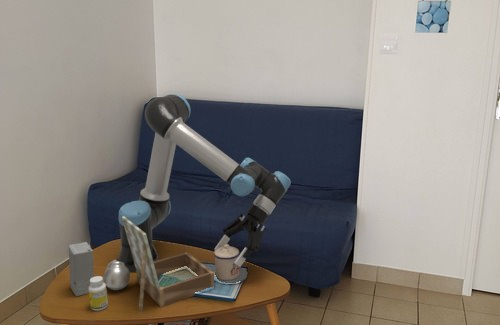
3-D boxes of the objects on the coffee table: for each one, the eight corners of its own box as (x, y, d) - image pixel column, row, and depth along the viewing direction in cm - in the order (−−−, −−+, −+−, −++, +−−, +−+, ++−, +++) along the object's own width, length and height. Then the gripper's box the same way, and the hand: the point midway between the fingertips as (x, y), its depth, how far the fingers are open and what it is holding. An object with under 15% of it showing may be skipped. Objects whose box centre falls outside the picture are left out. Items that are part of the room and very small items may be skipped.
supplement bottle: (92, 302, 151) (89, 275, 149) (109, 301, 152) (107, 274, 149) (88, 311, 146) (85, 283, 144) (106, 310, 147) (103, 282, 144)
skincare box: (70, 287, 161) (65, 245, 157) (90, 281, 165) (86, 240, 161) (76, 297, 154) (71, 254, 150) (97, 291, 158) (93, 248, 154)
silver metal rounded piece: (134, 281, 165) (132, 255, 162) (127, 294, 156) (125, 267, 153) (109, 281, 165) (106, 255, 162) (100, 295, 156) (98, 268, 153)
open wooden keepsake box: (119, 289, 161) (113, 217, 154) (187, 268, 175) (184, 202, 169) (141, 315, 145) (135, 237, 138) (214, 290, 159) (212, 218, 153)
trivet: (207, 274, 169) (207, 272, 169) (235, 265, 176) (235, 263, 175) (225, 288, 159) (225, 285, 159) (253, 278, 166) (253, 275, 166)
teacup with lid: (235, 282, 161) (234, 251, 158) (210, 279, 164) (209, 248, 161) (245, 267, 172) (245, 238, 169) (222, 264, 175) (221, 235, 172)
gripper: (287, 225, 161) (253, 276, 157) (247, 205, 181) (215, 250, 177) (276, 214, 157) (239, 266, 153) (236, 195, 177) (203, 241, 173)
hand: (226, 258), depth 165 cm, fingers open, 13 cm apart
